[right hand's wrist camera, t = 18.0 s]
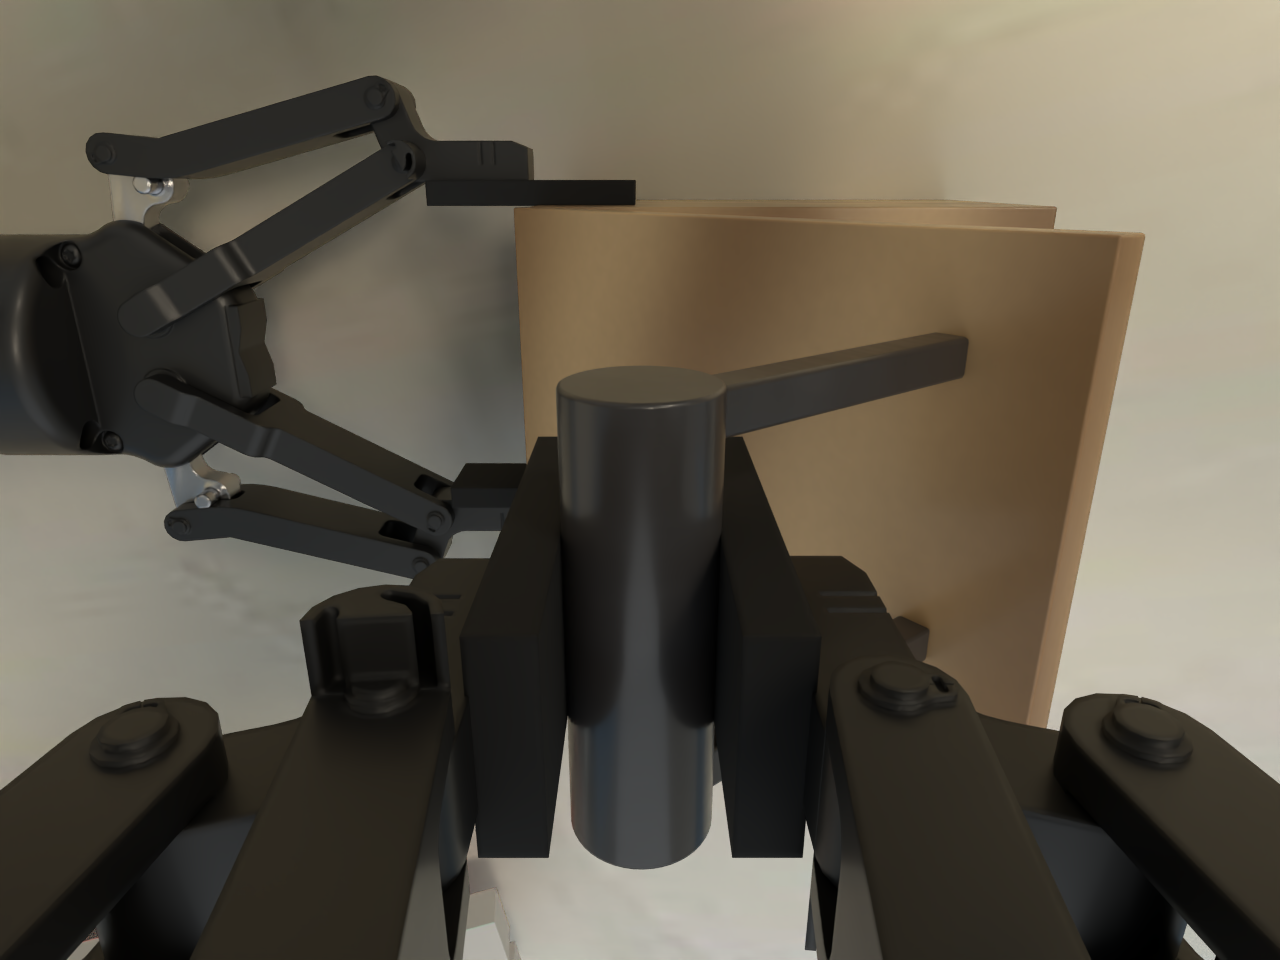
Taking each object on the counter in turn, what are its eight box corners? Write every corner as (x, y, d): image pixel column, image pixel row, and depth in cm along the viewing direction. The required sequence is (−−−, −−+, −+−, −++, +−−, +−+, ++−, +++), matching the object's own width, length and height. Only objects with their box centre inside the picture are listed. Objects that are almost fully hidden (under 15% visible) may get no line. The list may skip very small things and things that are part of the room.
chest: (947, 199, 33) (1058, 207, 24) (919, 427, 36) (1008, 508, 27) (560, 200, 33) (527, 207, 24) (567, 427, 36) (541, 506, 27)
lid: (1146, 232, 12) (723, 270, 7) (1039, 771, 15) (697, 1061, 10) (538, 207, 24) (224, 214, 19) (550, 508, 27) (284, 582, 22)
